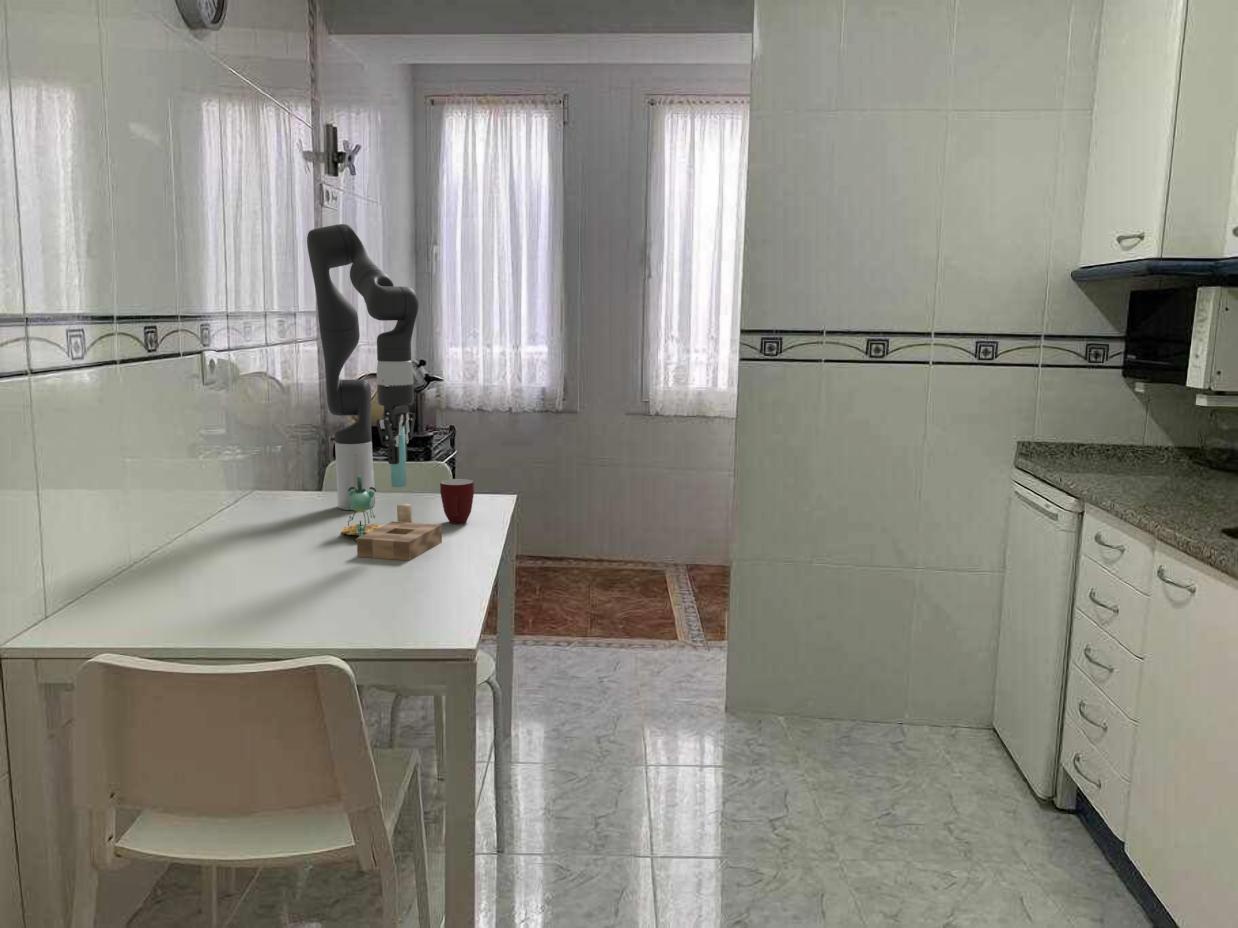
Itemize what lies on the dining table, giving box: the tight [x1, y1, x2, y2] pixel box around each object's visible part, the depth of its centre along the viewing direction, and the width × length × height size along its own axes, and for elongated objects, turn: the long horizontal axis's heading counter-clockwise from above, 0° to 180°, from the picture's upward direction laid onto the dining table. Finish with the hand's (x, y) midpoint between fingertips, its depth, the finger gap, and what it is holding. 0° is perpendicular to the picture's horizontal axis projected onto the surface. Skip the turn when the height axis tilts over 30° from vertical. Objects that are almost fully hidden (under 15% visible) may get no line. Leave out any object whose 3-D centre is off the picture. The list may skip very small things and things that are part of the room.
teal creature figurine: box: [340, 476, 383, 541], centre depth 224 cm, size 10×18×15 cm, turn 178°
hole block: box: [356, 521, 443, 562], centre depth 211 cm, size 16×12×4 cm
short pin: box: [396, 503, 413, 523], centre depth 223 cm, size 3×3×7 cm
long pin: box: [390, 426, 408, 488], centre depth 207 cm, size 3×3×13 cm
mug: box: [439, 478, 475, 525], centre depth 234 cm, size 11×8×10 cm
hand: (397, 462), depth 208 cm, fingers closed on long pin, 3 cm apart
